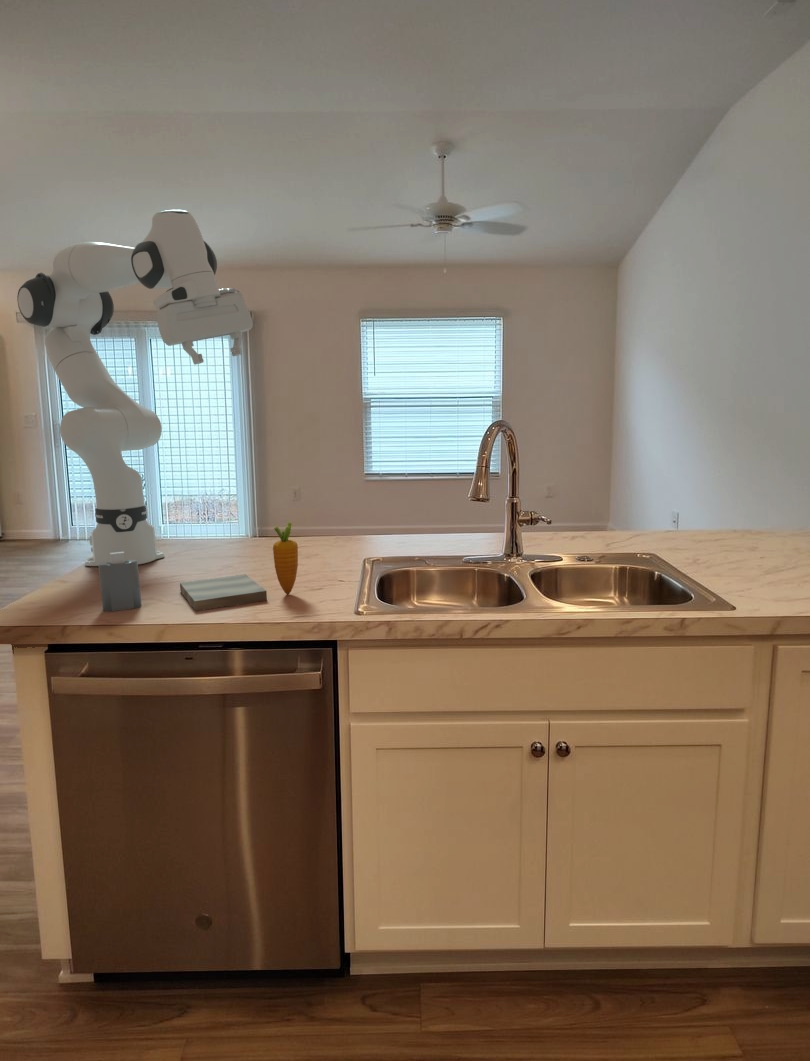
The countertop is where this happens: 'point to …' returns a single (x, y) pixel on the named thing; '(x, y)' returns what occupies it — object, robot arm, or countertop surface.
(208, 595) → the striped sage slab
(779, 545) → the countertop surface
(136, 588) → the block
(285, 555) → the carrot
